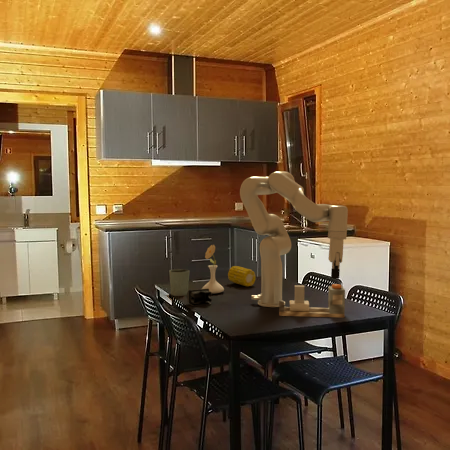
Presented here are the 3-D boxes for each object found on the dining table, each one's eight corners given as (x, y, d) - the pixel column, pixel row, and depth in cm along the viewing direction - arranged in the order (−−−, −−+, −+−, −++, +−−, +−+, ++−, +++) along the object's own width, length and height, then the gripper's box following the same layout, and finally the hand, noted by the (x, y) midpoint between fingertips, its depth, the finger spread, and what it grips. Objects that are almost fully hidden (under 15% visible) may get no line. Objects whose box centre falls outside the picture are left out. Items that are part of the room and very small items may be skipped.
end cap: (206, 301, 243) (206, 287, 242) (212, 304, 236) (212, 290, 236) (186, 303, 238) (186, 289, 238) (192, 306, 232) (192, 292, 231)
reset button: (332, 288, 215) (332, 285, 215) (331, 286, 219) (331, 284, 219) (342, 288, 215) (342, 286, 215) (340, 287, 219) (340, 284, 219)
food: (258, 286, 279) (258, 268, 278) (239, 288, 274) (239, 269, 273) (244, 281, 293) (244, 264, 292) (225, 283, 287) (225, 265, 286)
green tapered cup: (166, 295, 255) (166, 271, 254) (173, 291, 265) (173, 268, 264) (185, 296, 253) (185, 272, 252) (192, 292, 263) (192, 269, 262)
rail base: (279, 315, 216) (279, 288, 215) (279, 311, 224) (279, 284, 224) (344, 317, 213) (345, 290, 212) (342, 312, 222) (342, 286, 221)
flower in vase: (201, 290, 268) (201, 242, 266) (223, 290, 269) (223, 242, 267) (202, 295, 255) (202, 245, 253) (225, 295, 256) (225, 245, 254)
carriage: (289, 311, 216) (290, 287, 216) (289, 307, 223) (289, 284, 223) (309, 311, 216) (309, 287, 215) (308, 307, 223) (308, 284, 222)
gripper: (326, 232, 223) (324, 274, 225) (329, 236, 209) (327, 281, 210) (344, 233, 223) (342, 275, 224) (348, 237, 208) (346, 282, 209)
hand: (335, 278), depth 217 cm, fingers closed
